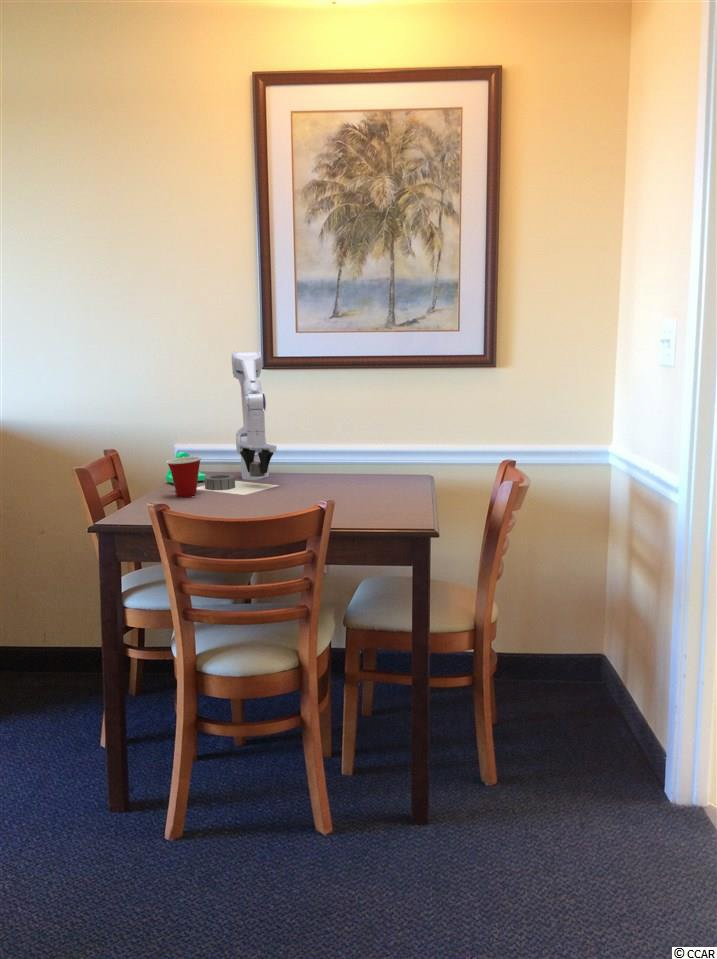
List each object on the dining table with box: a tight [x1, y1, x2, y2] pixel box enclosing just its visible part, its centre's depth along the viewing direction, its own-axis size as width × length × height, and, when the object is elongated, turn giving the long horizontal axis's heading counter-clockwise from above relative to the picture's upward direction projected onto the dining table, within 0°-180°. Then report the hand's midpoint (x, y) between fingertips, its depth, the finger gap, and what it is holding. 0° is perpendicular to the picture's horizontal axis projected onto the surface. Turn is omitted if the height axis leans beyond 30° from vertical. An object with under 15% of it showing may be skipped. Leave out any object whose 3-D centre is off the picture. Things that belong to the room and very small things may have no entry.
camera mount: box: [165, 451, 207, 484], centre depth 297 cm, size 12×8×10 cm, turn 122°
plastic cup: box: [166, 456, 202, 498], centre depth 273 cm, size 11×11×12 cm
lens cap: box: [249, 462, 265, 477], centre depth 283 cm, size 5×5×4 cm
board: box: [196, 473, 281, 496], centre depth 283 cm, size 18×22×4 cm
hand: (257, 472), depth 283 cm, fingers closed on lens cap, 5 cm apart
